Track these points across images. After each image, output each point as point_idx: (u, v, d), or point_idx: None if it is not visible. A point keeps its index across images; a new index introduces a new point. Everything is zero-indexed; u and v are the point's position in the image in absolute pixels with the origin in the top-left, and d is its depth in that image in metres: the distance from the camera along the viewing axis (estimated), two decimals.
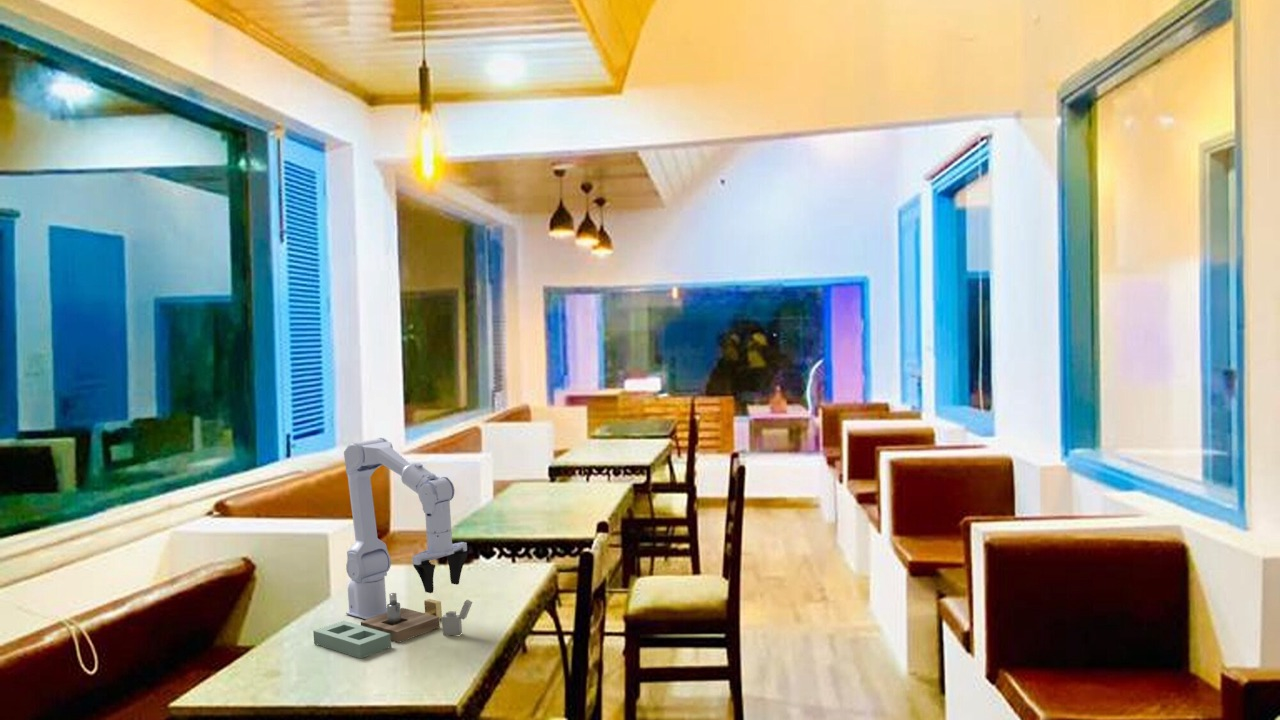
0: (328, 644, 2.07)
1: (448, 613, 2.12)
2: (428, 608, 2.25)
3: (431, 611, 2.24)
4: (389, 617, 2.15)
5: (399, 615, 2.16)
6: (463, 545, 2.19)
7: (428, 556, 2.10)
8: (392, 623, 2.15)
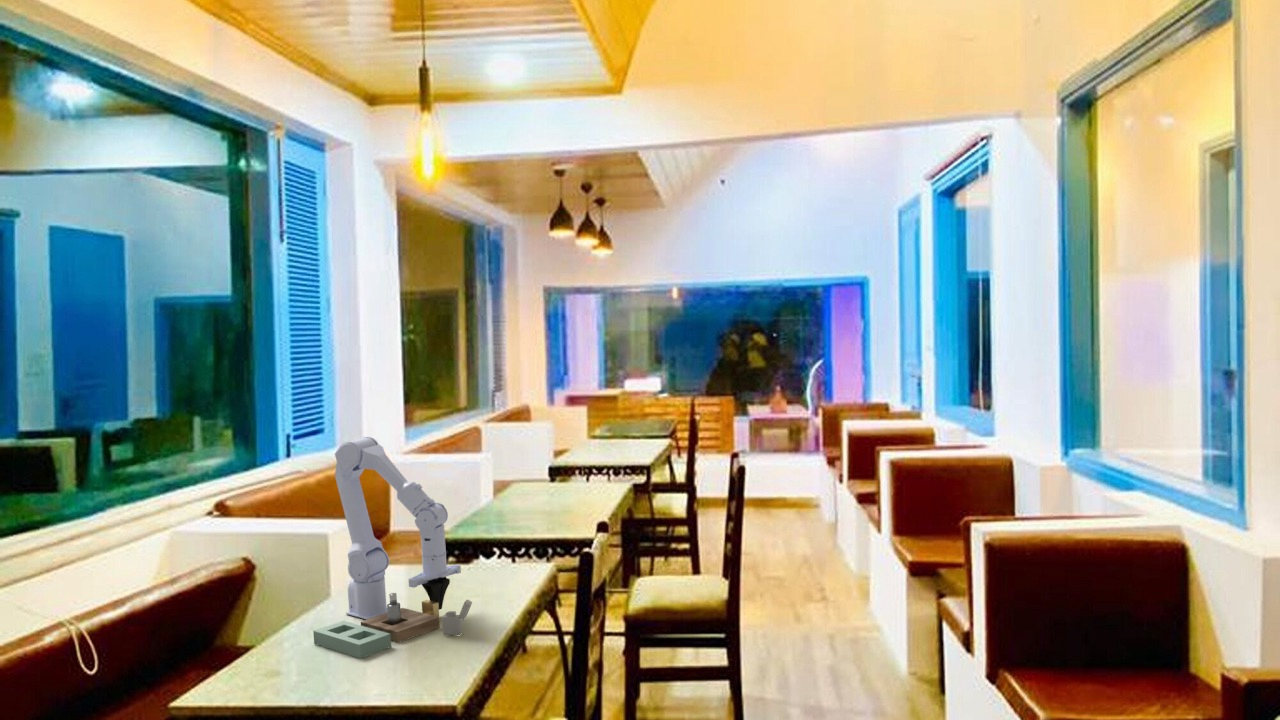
0: (328, 644, 2.07)
1: (448, 613, 2.12)
2: (425, 609, 2.24)
3: (428, 612, 2.24)
4: (389, 617, 2.15)
5: (399, 615, 2.16)
6: (457, 567, 2.30)
7: (424, 579, 2.21)
8: (392, 623, 2.15)
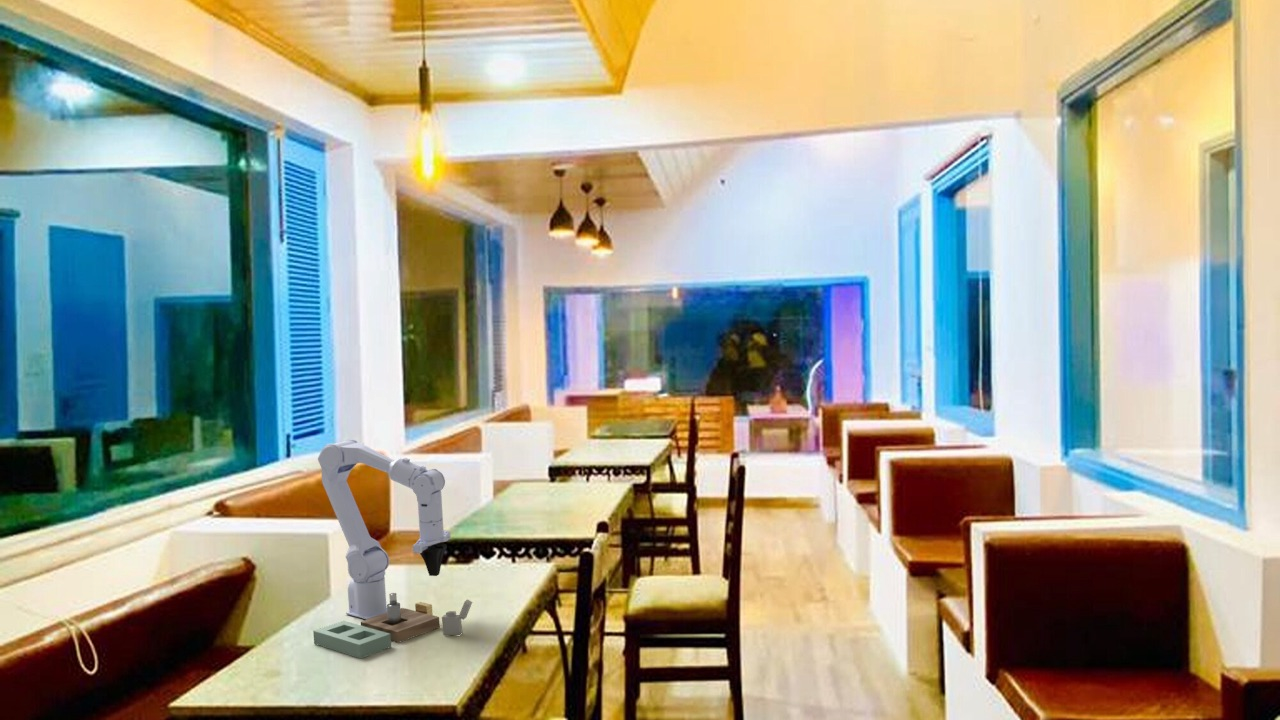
0: (328, 644, 2.07)
1: (448, 613, 2.12)
2: (419, 611, 2.23)
3: None
4: (389, 617, 2.15)
5: (399, 615, 2.16)
6: (448, 533, 2.31)
7: (427, 544, 2.20)
8: (392, 623, 2.15)
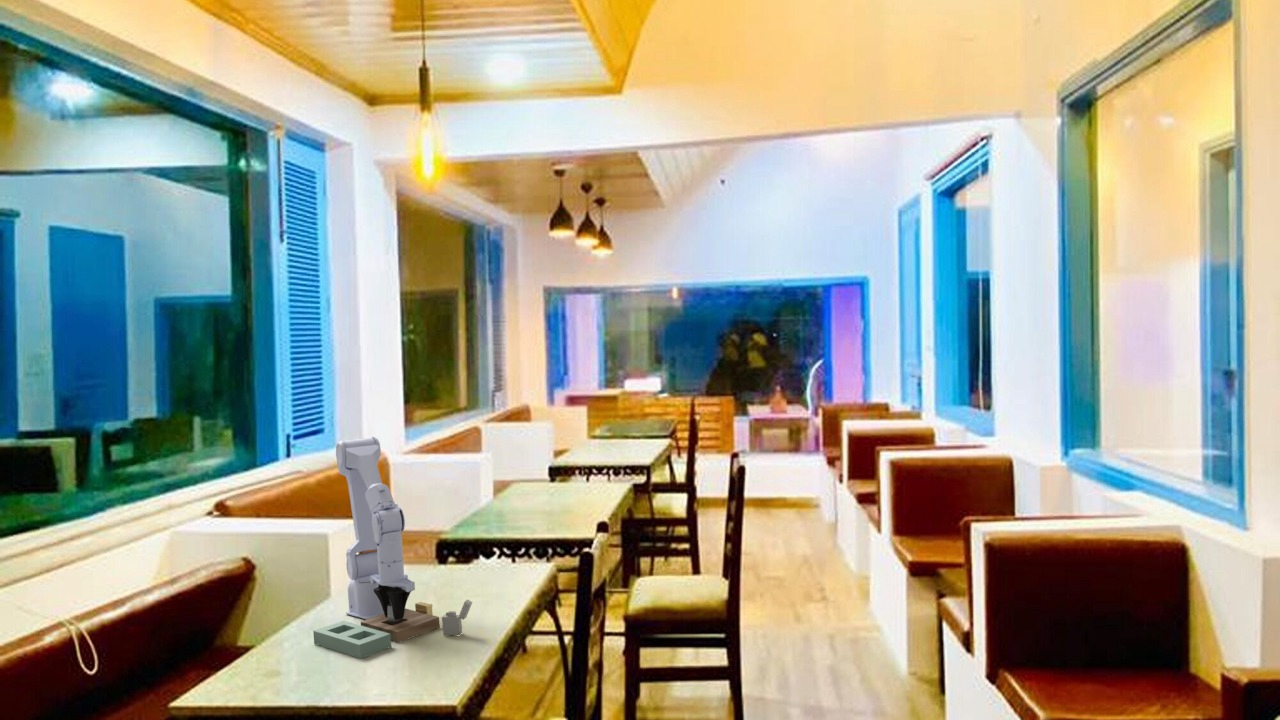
0: (328, 644, 2.07)
1: (448, 613, 2.12)
2: (419, 611, 2.23)
3: None
4: (389, 617, 2.15)
5: None
6: None
7: None
8: (392, 623, 2.15)
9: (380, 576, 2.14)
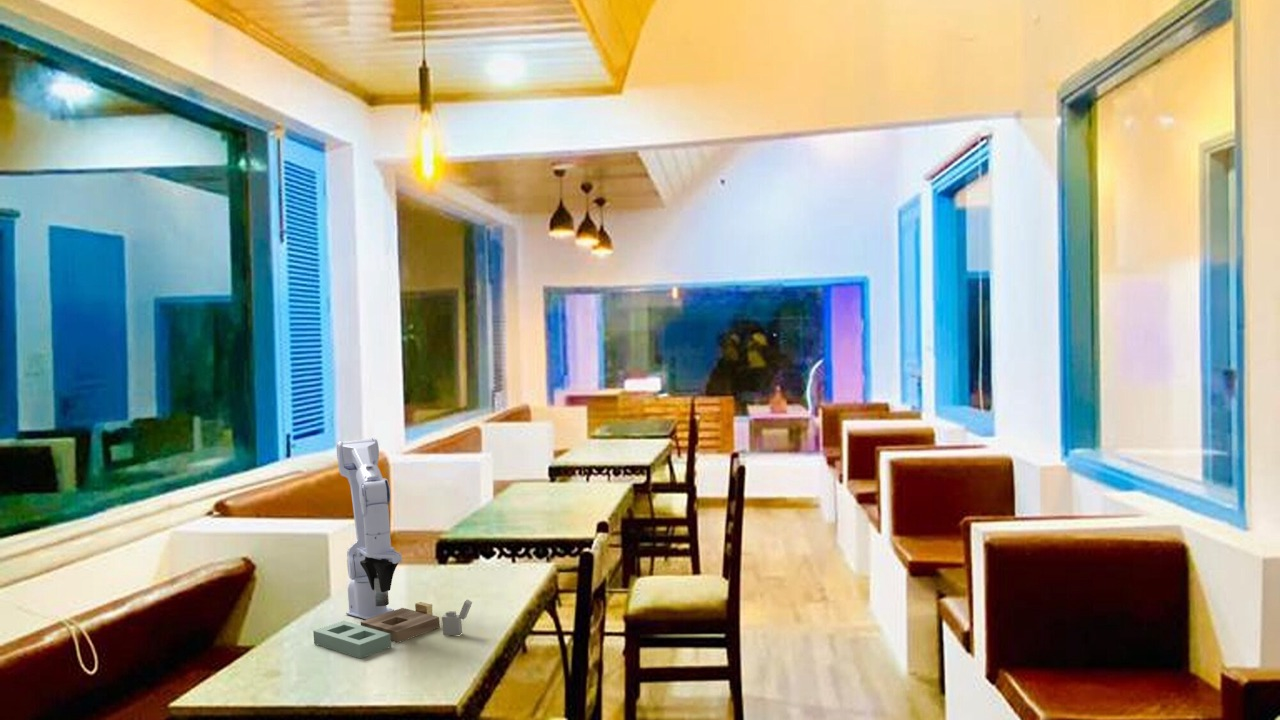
0: (328, 644, 2.07)
1: (448, 613, 2.12)
2: (419, 611, 2.23)
3: None
4: (376, 589, 2.13)
5: None
6: None
7: None
8: (379, 595, 2.13)
9: (367, 548, 2.12)
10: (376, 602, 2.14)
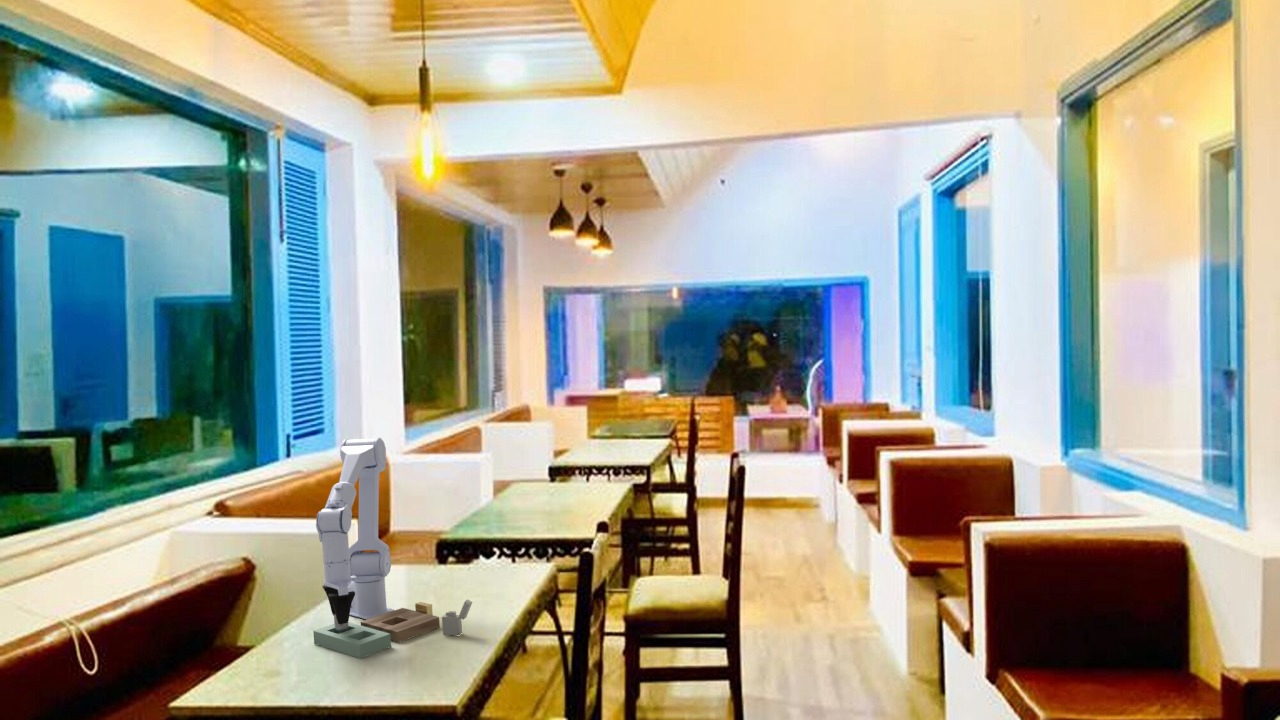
0: (328, 644, 2.07)
1: (448, 613, 2.12)
2: (419, 611, 2.23)
3: None
4: None
5: (344, 626, 2.10)
6: None
7: (348, 584, 2.07)
8: None
9: (324, 575, 2.09)
10: None
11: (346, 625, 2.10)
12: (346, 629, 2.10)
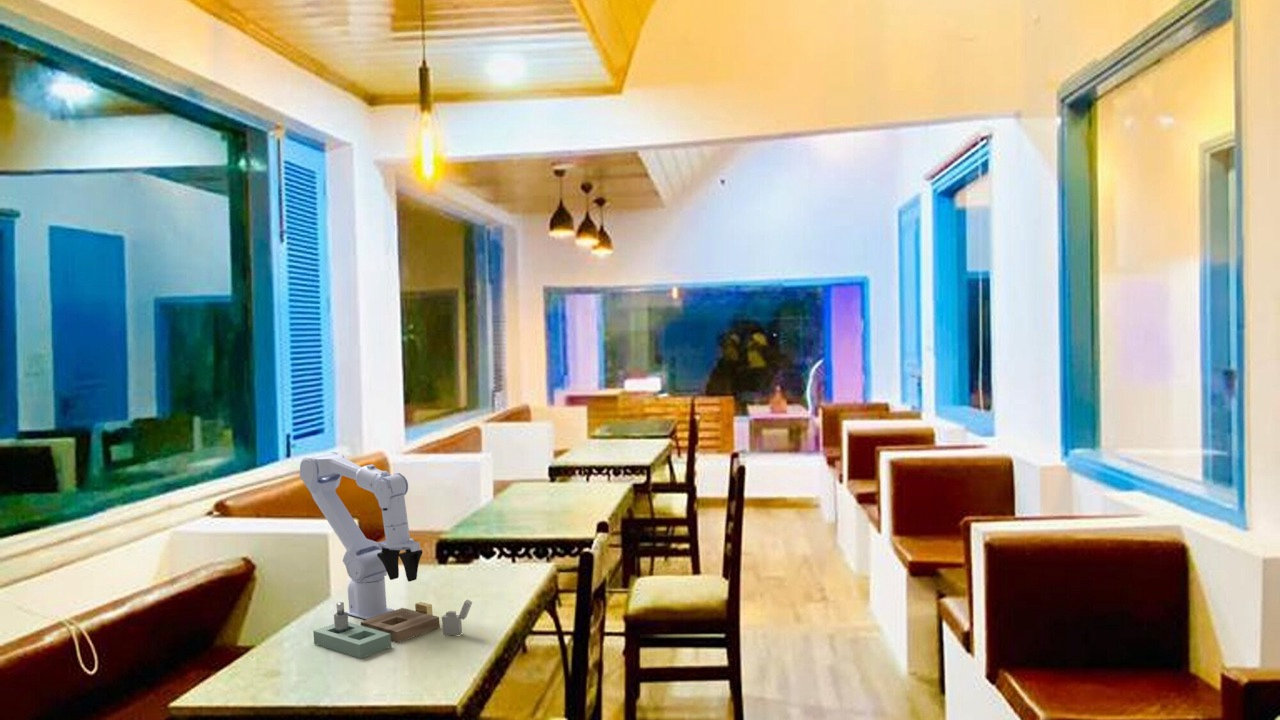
0: (328, 644, 2.07)
1: (448, 613, 2.12)
2: (419, 611, 2.23)
3: None
4: None
5: (344, 626, 2.10)
6: None
7: (414, 543, 2.23)
8: None
9: (386, 540, 2.23)
10: None
11: (346, 625, 2.10)
12: (346, 629, 2.10)
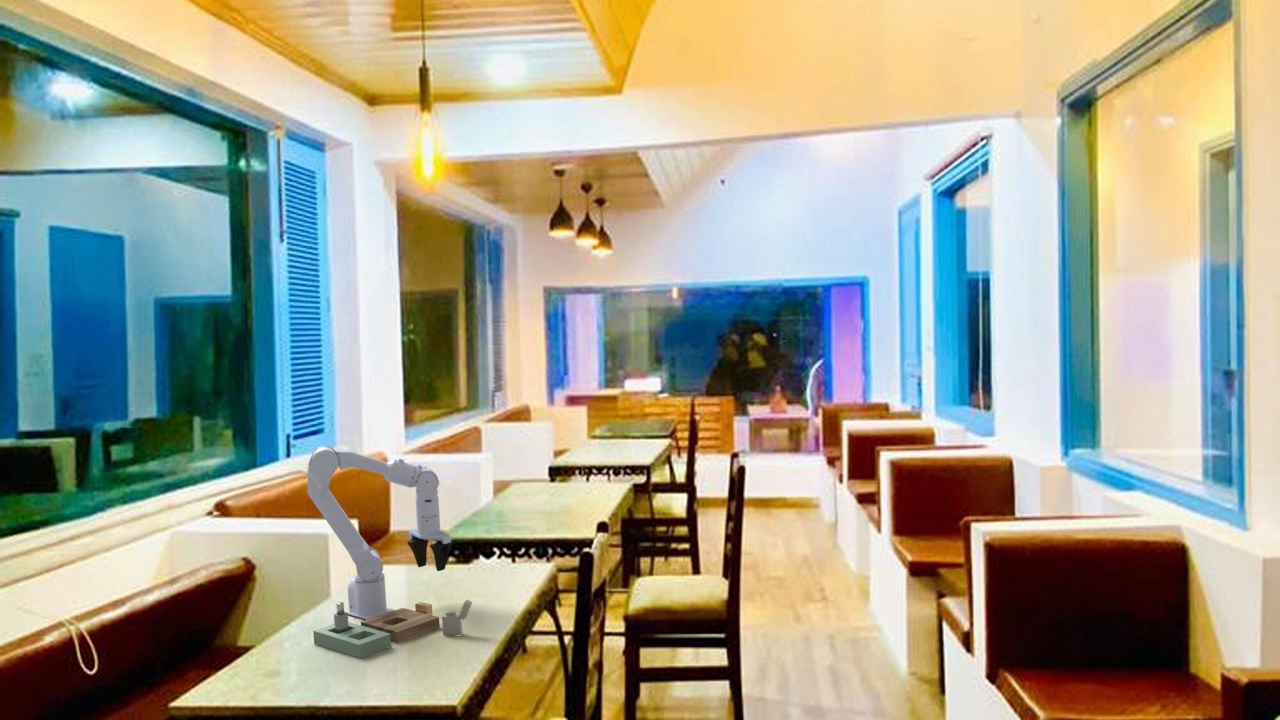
0: (328, 644, 2.07)
1: (448, 613, 2.12)
2: (419, 611, 2.23)
3: None
4: None
5: (344, 626, 2.10)
6: None
7: None
8: None
9: (419, 530, 2.34)
10: None
11: (346, 625, 2.10)
12: (346, 629, 2.10)
